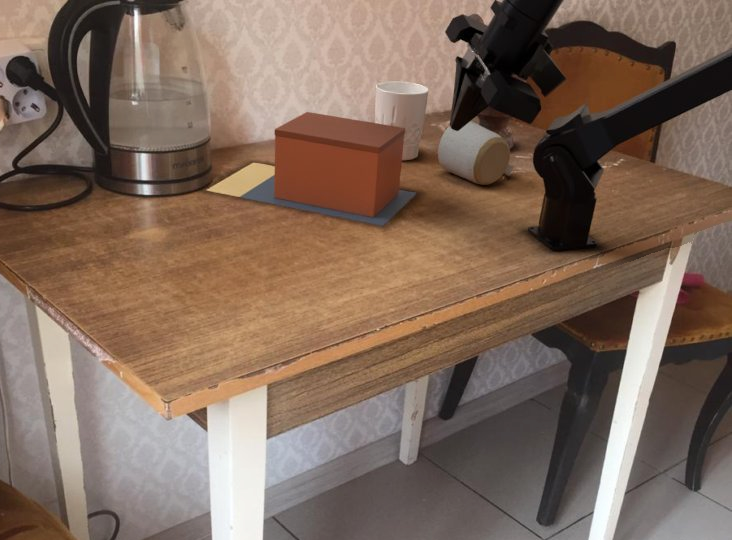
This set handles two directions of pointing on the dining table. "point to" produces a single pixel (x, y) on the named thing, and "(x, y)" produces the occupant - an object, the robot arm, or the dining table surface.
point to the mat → (260, 187)
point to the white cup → (403, 111)
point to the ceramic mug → (475, 154)
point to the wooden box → (338, 163)
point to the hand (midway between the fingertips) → (453, 128)
